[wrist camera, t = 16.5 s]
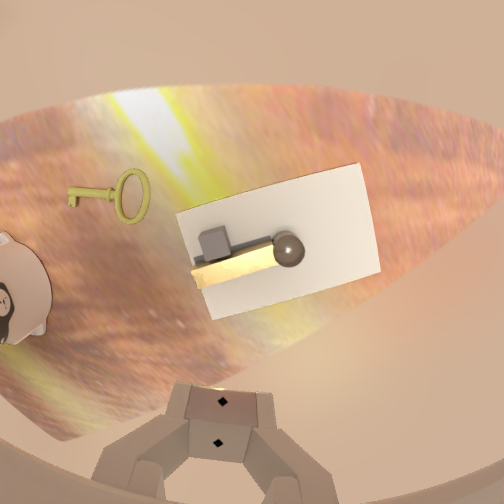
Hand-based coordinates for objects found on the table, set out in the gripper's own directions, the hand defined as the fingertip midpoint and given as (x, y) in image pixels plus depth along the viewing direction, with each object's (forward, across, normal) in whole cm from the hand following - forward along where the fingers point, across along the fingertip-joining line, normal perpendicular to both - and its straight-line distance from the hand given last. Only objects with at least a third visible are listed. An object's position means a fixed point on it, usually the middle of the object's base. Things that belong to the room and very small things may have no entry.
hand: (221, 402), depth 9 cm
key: (+32, +18, -2) cm, 36 cm away
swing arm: (+30, -2, +3) cm, 30 cm away
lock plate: (+31, -6, +1) cm, 32 cm away
